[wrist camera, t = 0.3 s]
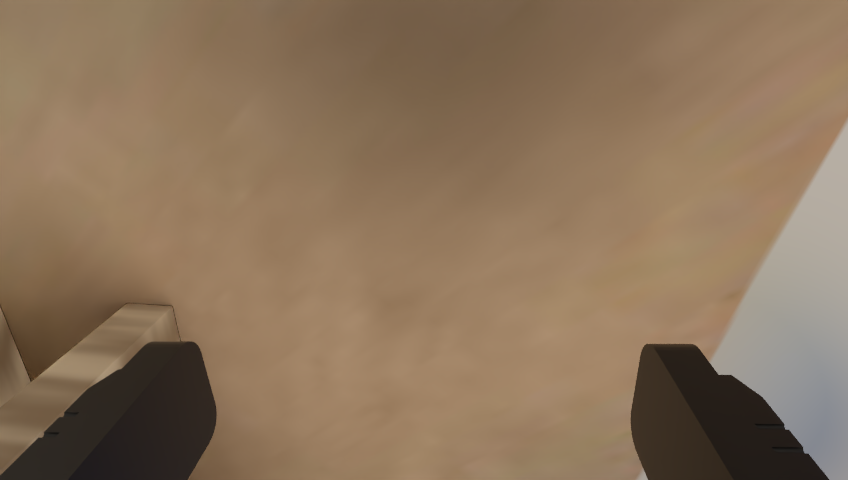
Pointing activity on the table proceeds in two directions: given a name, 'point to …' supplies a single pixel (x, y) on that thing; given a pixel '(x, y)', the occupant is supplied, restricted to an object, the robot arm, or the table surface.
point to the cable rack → (70, 372)
